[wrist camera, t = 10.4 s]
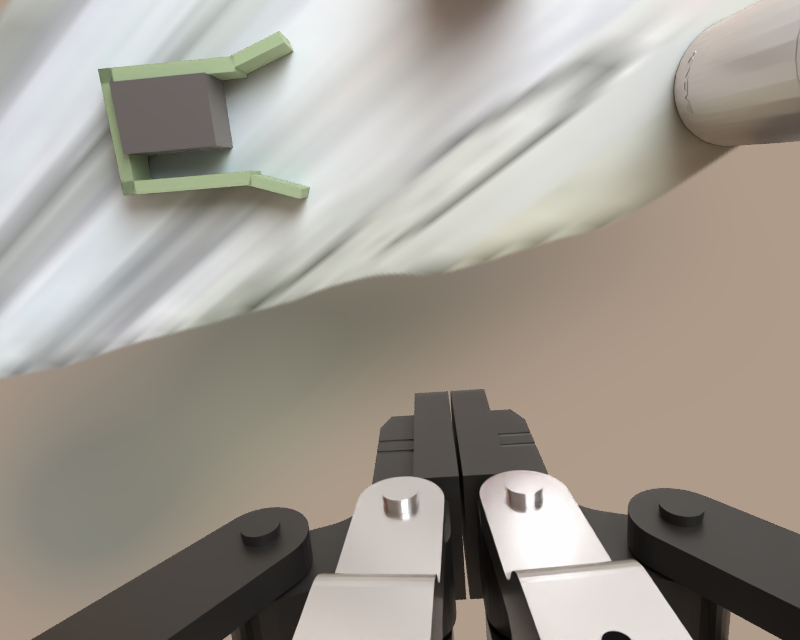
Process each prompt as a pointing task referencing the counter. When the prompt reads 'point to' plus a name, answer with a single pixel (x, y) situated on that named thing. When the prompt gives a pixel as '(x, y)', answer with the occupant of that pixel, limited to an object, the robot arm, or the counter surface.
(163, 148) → the chute block
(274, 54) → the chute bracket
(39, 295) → the counter surface
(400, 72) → the counter surface
